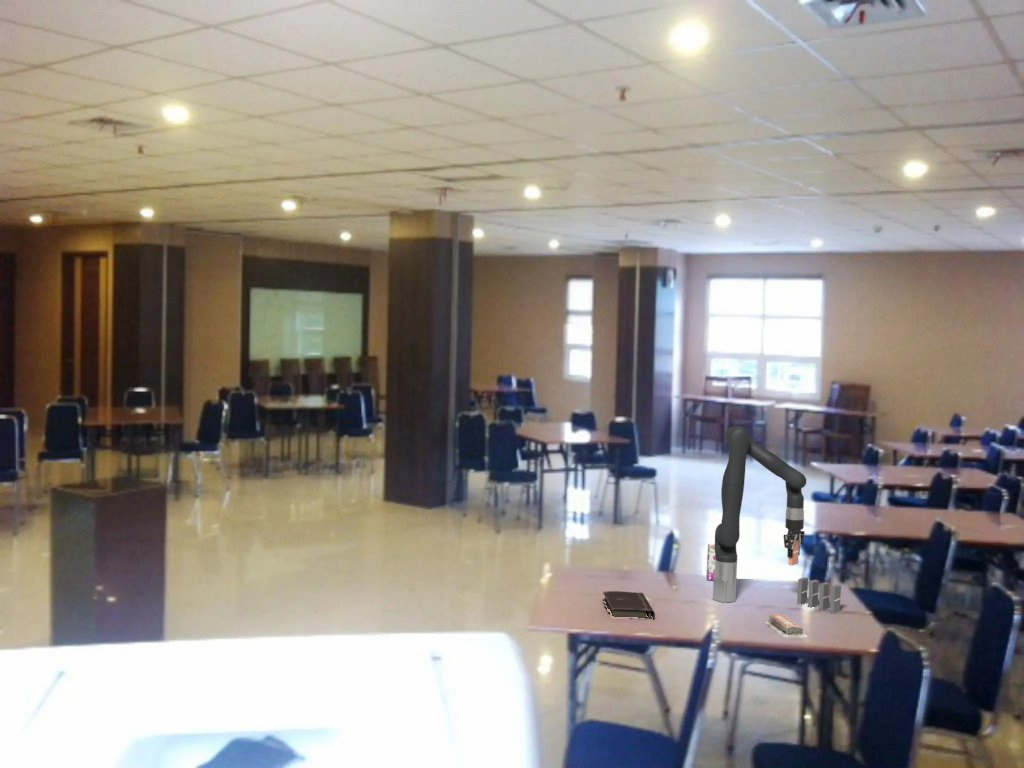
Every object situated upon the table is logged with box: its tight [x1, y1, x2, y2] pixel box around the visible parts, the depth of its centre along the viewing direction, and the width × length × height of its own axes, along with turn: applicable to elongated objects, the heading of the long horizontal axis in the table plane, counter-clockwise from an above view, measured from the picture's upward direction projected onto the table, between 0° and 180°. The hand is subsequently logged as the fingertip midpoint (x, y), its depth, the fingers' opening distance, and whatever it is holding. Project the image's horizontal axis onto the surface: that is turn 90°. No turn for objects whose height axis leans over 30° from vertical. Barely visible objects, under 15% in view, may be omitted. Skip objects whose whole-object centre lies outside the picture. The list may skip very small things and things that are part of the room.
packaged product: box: [764, 613, 809, 639], centre depth 370 cm, size 18×5×10 cm
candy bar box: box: [705, 543, 715, 582], centre depth 441 cm, size 11×5×16 cm, turn 84°
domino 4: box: [818, 581, 831, 612], centre depth 399 cm, size 2×5×11 cm, turn 134°
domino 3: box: [807, 579, 820, 609], centre depth 403 cm, size 2×5×11 cm, turn 134°
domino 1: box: [787, 540, 799, 566], centre depth 409 cm, size 2×5×11 cm, turn 134°
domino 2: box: [796, 576, 809, 606], centre depth 406 cm, size 2×5×11 cm, turn 133°
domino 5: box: [829, 584, 842, 614], centre depth 396 cm, size 2×5×11 cm, turn 133°
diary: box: [602, 590, 656, 619], centre depth 392 cm, size 19×25×5 cm
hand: (793, 556), depth 409 cm, fingers closed on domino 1, 5 cm apart
